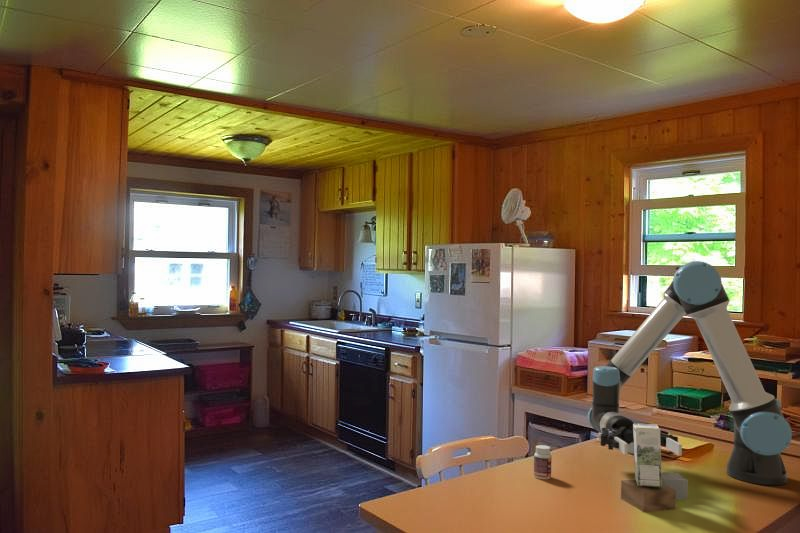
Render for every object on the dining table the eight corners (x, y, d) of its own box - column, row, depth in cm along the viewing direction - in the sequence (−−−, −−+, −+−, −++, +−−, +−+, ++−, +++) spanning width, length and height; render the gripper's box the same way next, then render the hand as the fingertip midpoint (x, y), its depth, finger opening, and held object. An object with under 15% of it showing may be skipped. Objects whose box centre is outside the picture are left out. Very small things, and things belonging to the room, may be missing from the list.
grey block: (675, 491, 165) (675, 472, 165) (687, 499, 159) (687, 479, 159) (653, 491, 164) (653, 472, 165) (664, 499, 159) (665, 479, 159)
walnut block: (651, 497, 160) (651, 478, 160) (675, 510, 151) (675, 490, 151) (620, 500, 158) (621, 480, 158) (643, 513, 149) (643, 492, 149)
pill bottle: (551, 480, 171) (552, 449, 171) (533, 478, 172) (534, 448, 172) (550, 475, 175) (551, 445, 176) (533, 473, 176) (534, 444, 176)
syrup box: (659, 481, 157) (656, 423, 158) (662, 488, 151) (660, 427, 152) (635, 480, 158) (632, 422, 159) (637, 486, 152) (635, 426, 153)
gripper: (661, 442, 174) (702, 465, 153) (574, 441, 173) (602, 464, 152) (662, 415, 174) (703, 435, 153) (574, 414, 173) (603, 433, 152)
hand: (653, 449), depth 152 cm, fingers open, 13 cm apart
